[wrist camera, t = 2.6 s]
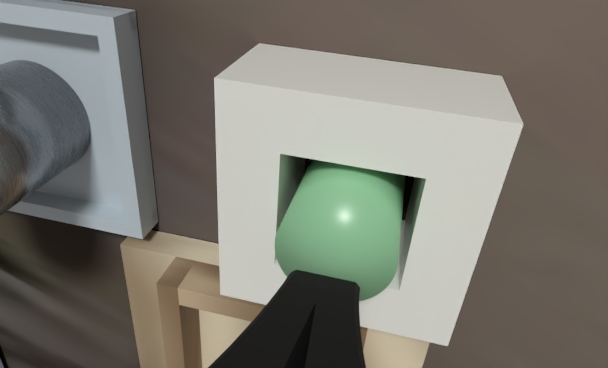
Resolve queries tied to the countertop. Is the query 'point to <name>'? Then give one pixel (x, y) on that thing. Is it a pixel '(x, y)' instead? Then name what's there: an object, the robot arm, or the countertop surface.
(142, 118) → the tray
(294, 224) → the button
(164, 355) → the board
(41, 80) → the cylinder
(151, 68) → the countertop surface
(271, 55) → the button housing
